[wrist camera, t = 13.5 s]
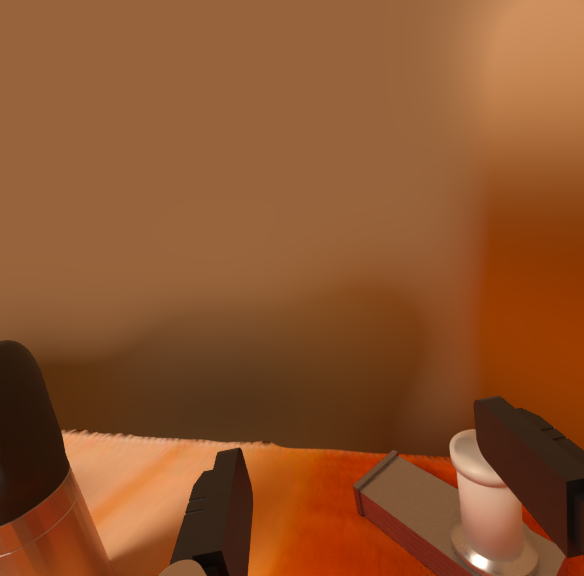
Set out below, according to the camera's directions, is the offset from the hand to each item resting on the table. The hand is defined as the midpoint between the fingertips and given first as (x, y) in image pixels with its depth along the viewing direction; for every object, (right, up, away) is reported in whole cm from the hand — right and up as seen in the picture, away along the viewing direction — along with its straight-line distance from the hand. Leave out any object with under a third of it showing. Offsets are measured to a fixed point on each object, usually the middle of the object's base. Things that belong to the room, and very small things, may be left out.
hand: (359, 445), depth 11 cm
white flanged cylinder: (+17, -19, +22) cm, 34 cm away
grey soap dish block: (+16, -24, +27) cm, 39 cm away
